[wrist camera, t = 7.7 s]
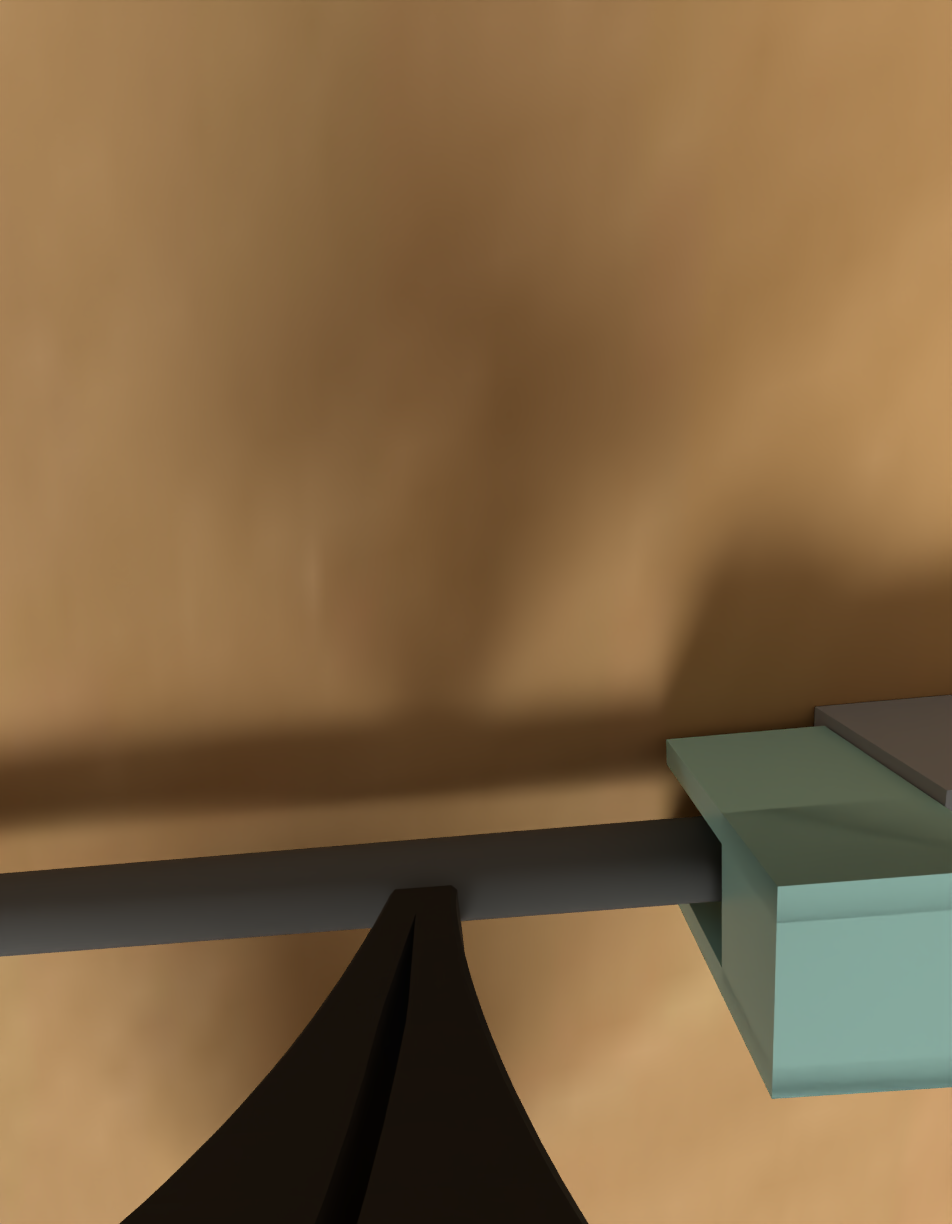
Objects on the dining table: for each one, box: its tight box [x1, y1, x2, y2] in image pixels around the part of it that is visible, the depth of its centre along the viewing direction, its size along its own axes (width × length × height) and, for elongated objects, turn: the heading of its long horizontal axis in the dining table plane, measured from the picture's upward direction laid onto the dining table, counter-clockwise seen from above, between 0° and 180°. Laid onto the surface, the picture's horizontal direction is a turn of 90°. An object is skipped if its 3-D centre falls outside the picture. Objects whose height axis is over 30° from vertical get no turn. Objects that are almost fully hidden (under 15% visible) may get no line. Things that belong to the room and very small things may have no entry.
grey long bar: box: [0, 695, 952, 956], centre depth 13 cm, size 6×33×4 cm, turn 96°
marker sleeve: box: [666, 726, 952, 1099], centre depth 11 cm, size 4×4×5 cm
